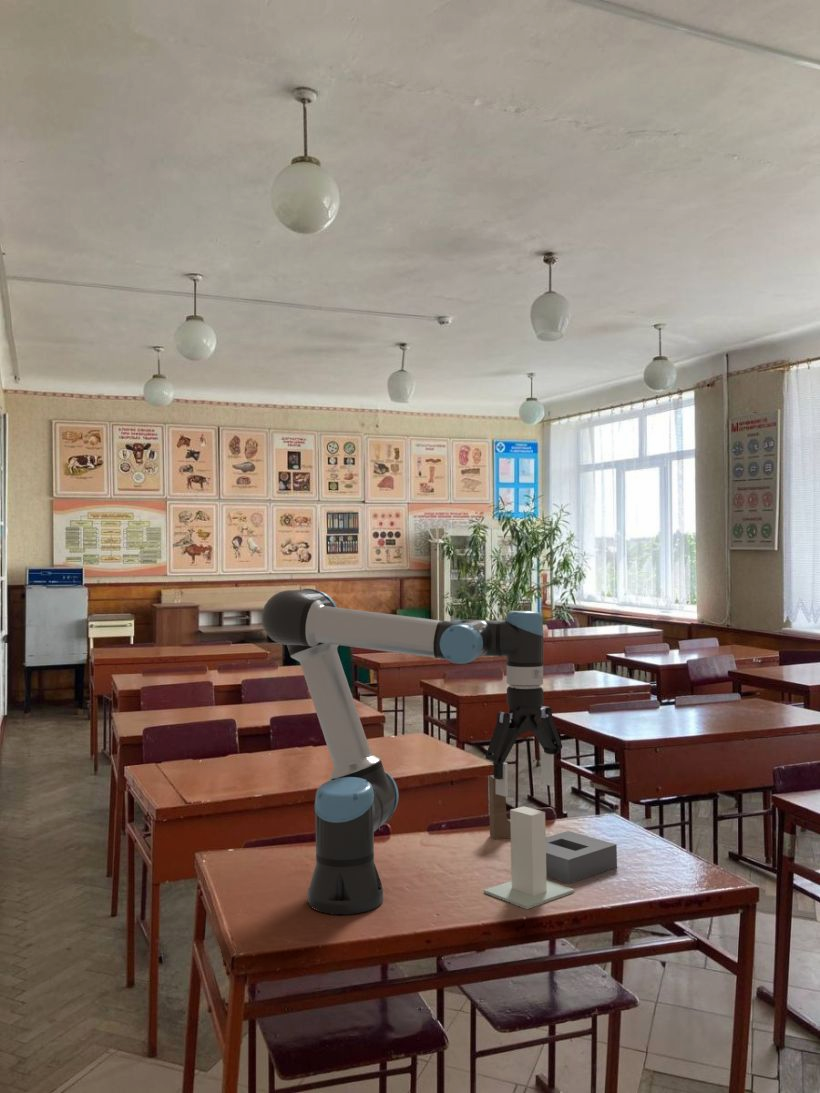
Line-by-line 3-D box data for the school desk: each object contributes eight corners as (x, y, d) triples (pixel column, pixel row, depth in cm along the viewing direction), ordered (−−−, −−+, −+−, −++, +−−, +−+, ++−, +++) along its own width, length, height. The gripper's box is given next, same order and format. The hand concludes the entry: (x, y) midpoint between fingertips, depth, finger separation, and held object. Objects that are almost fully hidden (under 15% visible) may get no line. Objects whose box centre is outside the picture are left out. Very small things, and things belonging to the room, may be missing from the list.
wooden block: (494, 839, 220) (493, 778, 221) (489, 836, 224) (488, 775, 224) (519, 837, 222) (518, 776, 223) (514, 833, 225) (512, 773, 226)
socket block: (569, 883, 188) (568, 859, 189) (520, 867, 199) (520, 844, 199) (617, 867, 199) (616, 844, 199) (568, 852, 209) (568, 830, 210)
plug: (533, 896, 180) (531, 815, 181) (511, 888, 185) (510, 809, 185) (546, 891, 183) (545, 812, 183) (525, 883, 187) (523, 806, 188)
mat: (526, 909, 175) (526, 906, 175) (483, 892, 184) (483, 889, 184) (574, 892, 183) (574, 889, 183) (531, 877, 193) (531, 874, 193)
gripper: (494, 693, 174) (494, 803, 174) (578, 683, 190) (579, 784, 189) (468, 689, 180) (468, 795, 179) (552, 679, 196) (552, 777, 195)
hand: (525, 790), depth 184 cm, fingers open, 13 cm apart
